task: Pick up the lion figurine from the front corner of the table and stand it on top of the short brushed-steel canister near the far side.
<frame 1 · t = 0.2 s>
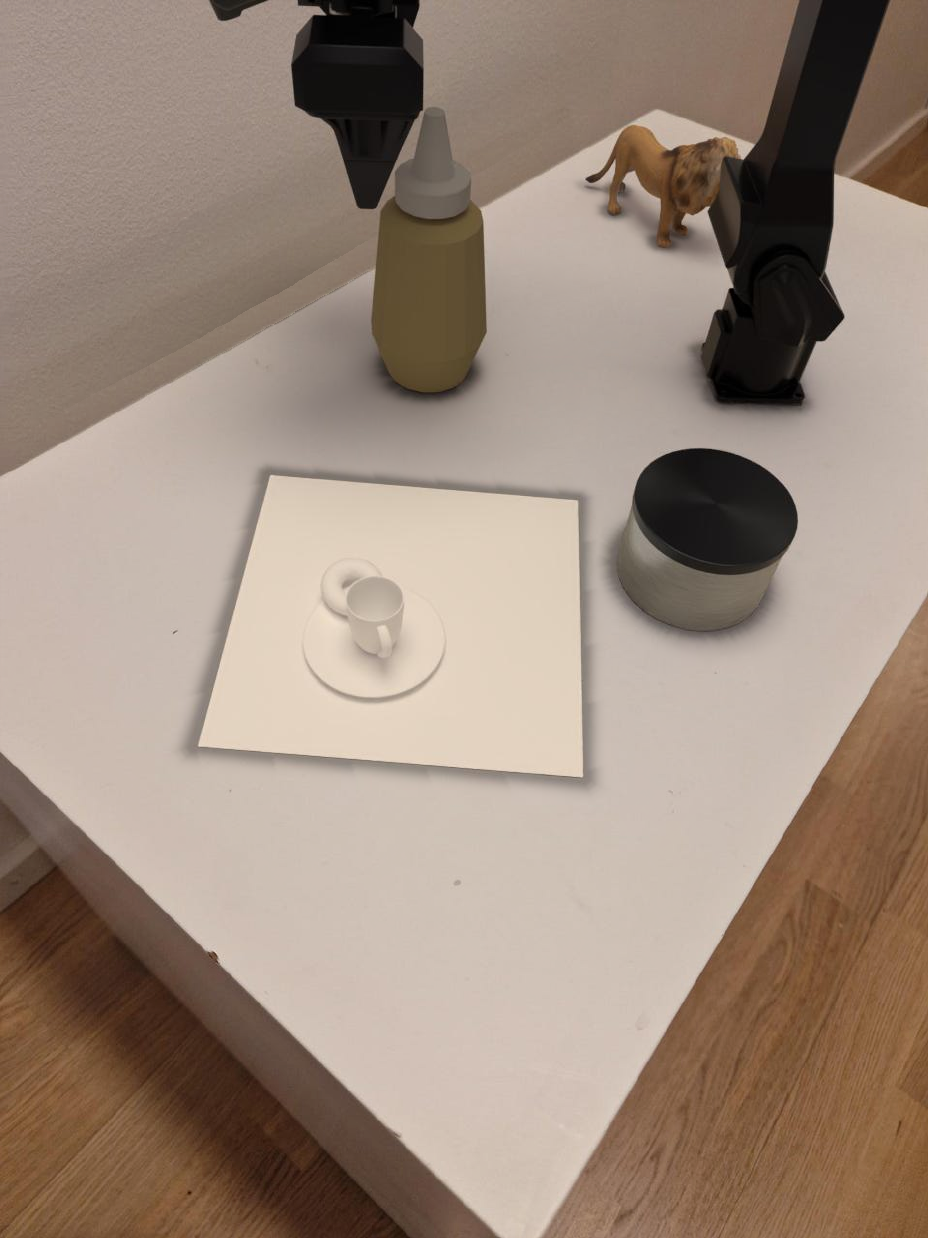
hand: (369, 166, 56), 14 cm above the table, tool pointing down, fingers open, 9 cm apart
lion figurine: (652, 223, 81), on the table
squeeze bottle: (427, 370, 68), on the table
steel canister: (689, 572, 57), on the table
teacup and saucer: (409, 611, 54), on the table
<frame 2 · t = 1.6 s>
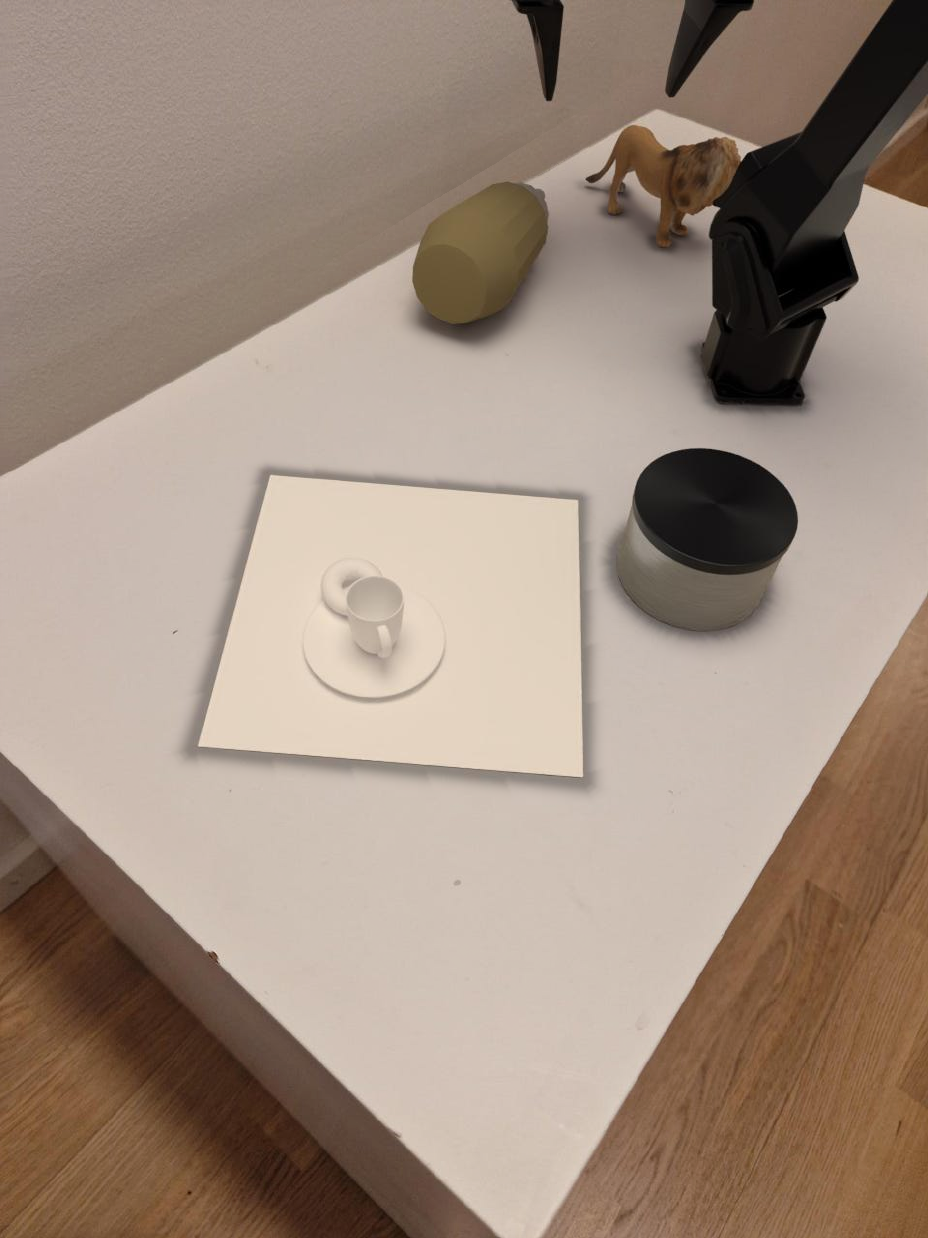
hand: (609, 96, 67), 13 cm above the table, tool pointing down, fingers open, 9 cm apart
squeeze bottle: (446, 287, 66), point 4 cm above the table
everything else where it was.
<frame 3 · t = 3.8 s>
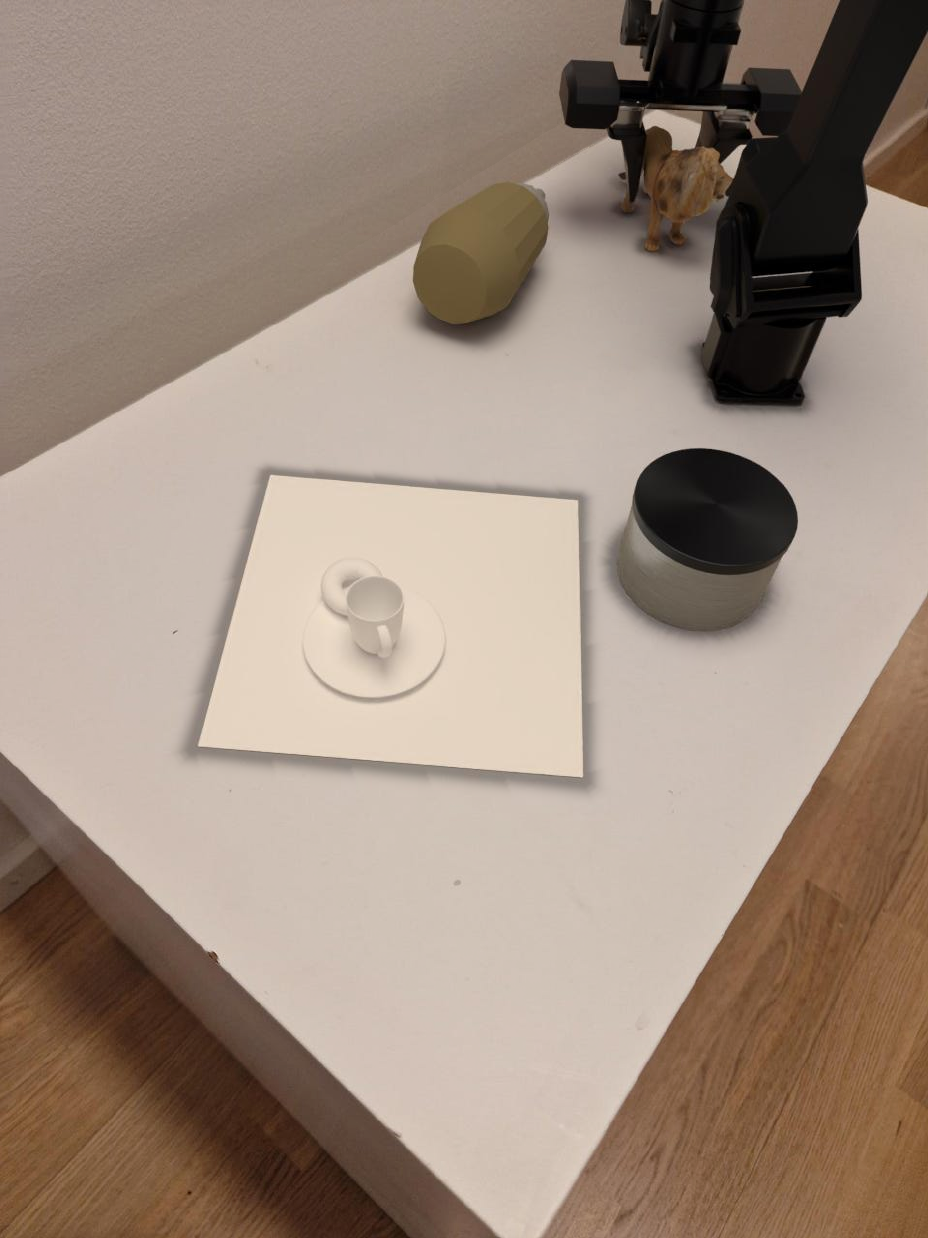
hand: (657, 201, 80), 2 cm above the table, tool pointing down, fingers closed on lion figurine, 4 cm apart
lion figurine: (658, 228, 81), on the table, touching gripper
everything else where it was.
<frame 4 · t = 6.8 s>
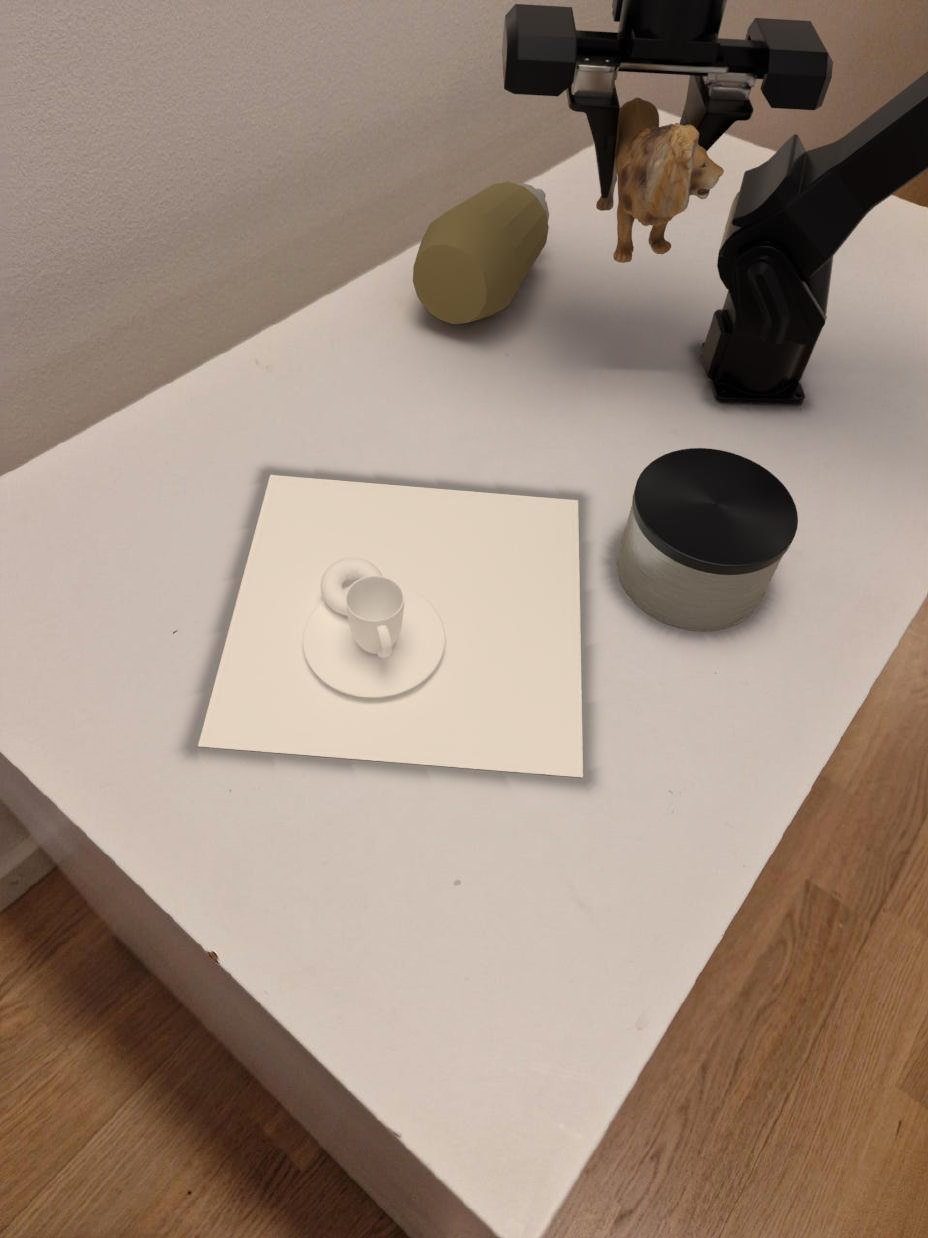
hand: (634, 196, 61), 11 cm above the table, tool pointing down, fingers closed on lion figurine, 4 cm apart
lion figurine: (641, 232, 62), point 10 cm above the table, touching gripper
everything else where it was.
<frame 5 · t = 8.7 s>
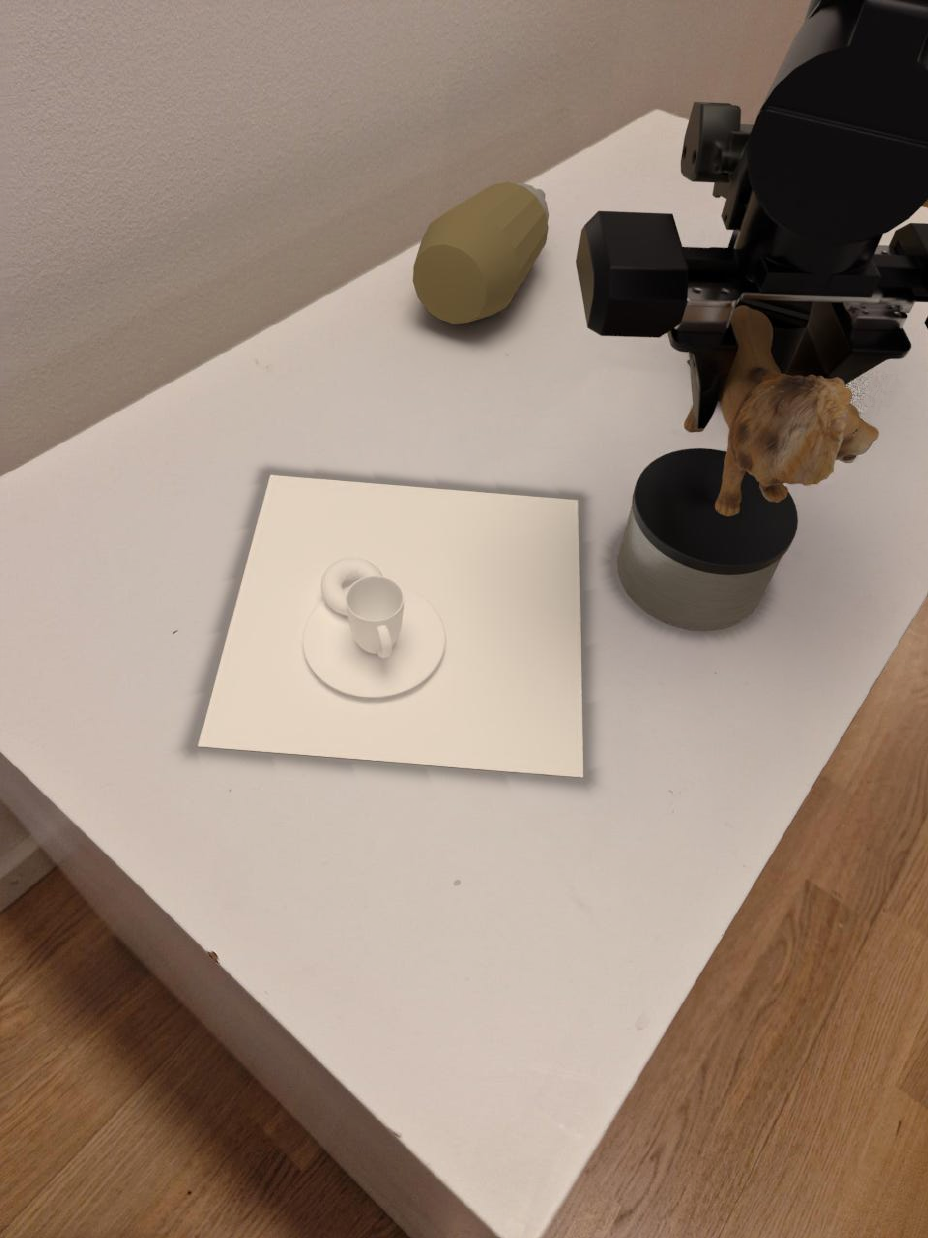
hand: (737, 423, 48), 11 cm above the table, tool pointing down, fingers closed on lion figurine, 4 cm apart
lion figurine: (744, 465, 49), point 10 cm above the table, touching gripper
everything else where it was.
when the fingers open (8 cm above the table, at t = 10.0 s): lion figurine stays where it is, resting on steel canister.
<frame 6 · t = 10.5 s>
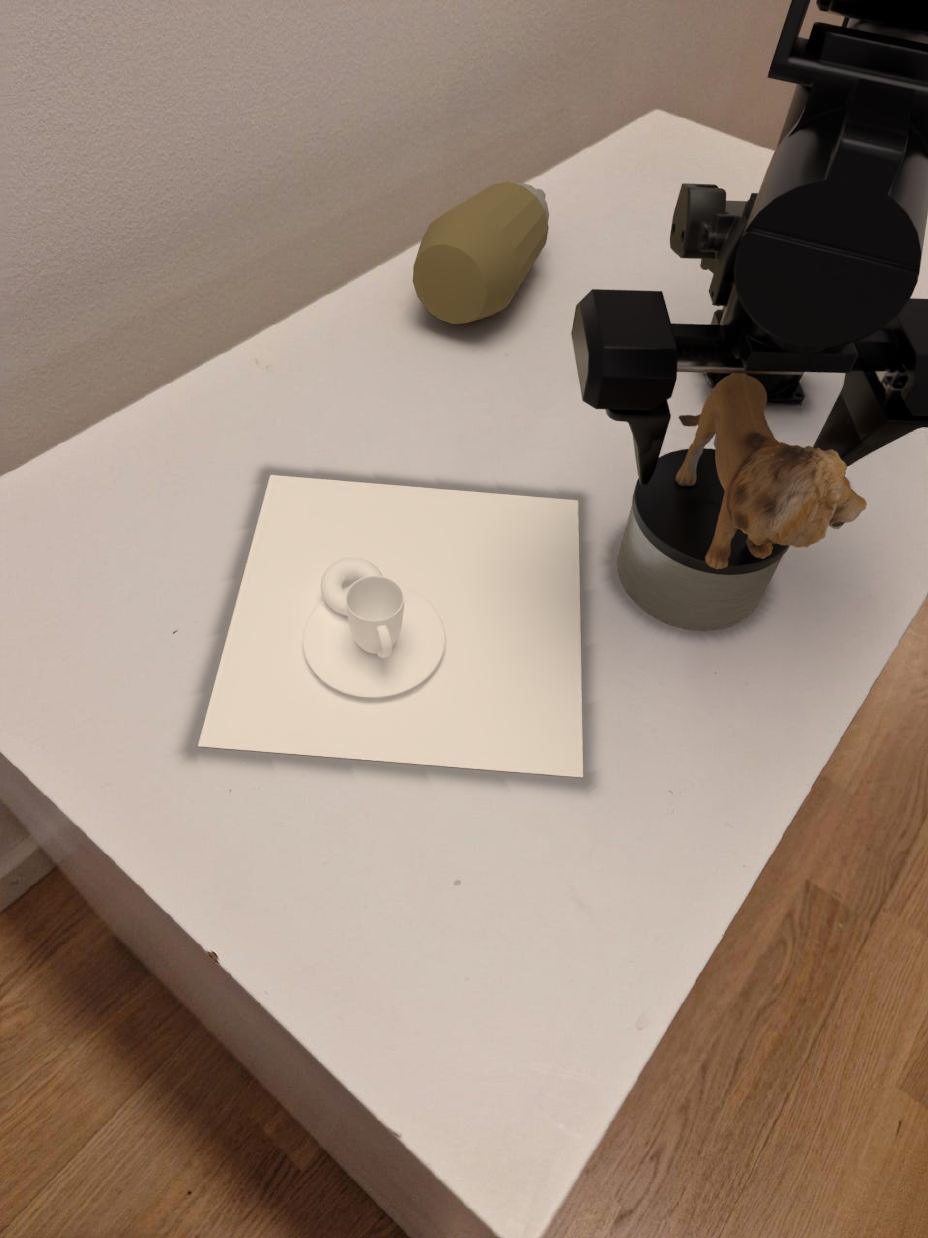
hand: (725, 480, 51), 8 cm above the table, tool pointing down, fingers open, 9 cm apart
lion figurine: (731, 520, 52), point 6 cm above the table, touching steel canister
everything else where it was.
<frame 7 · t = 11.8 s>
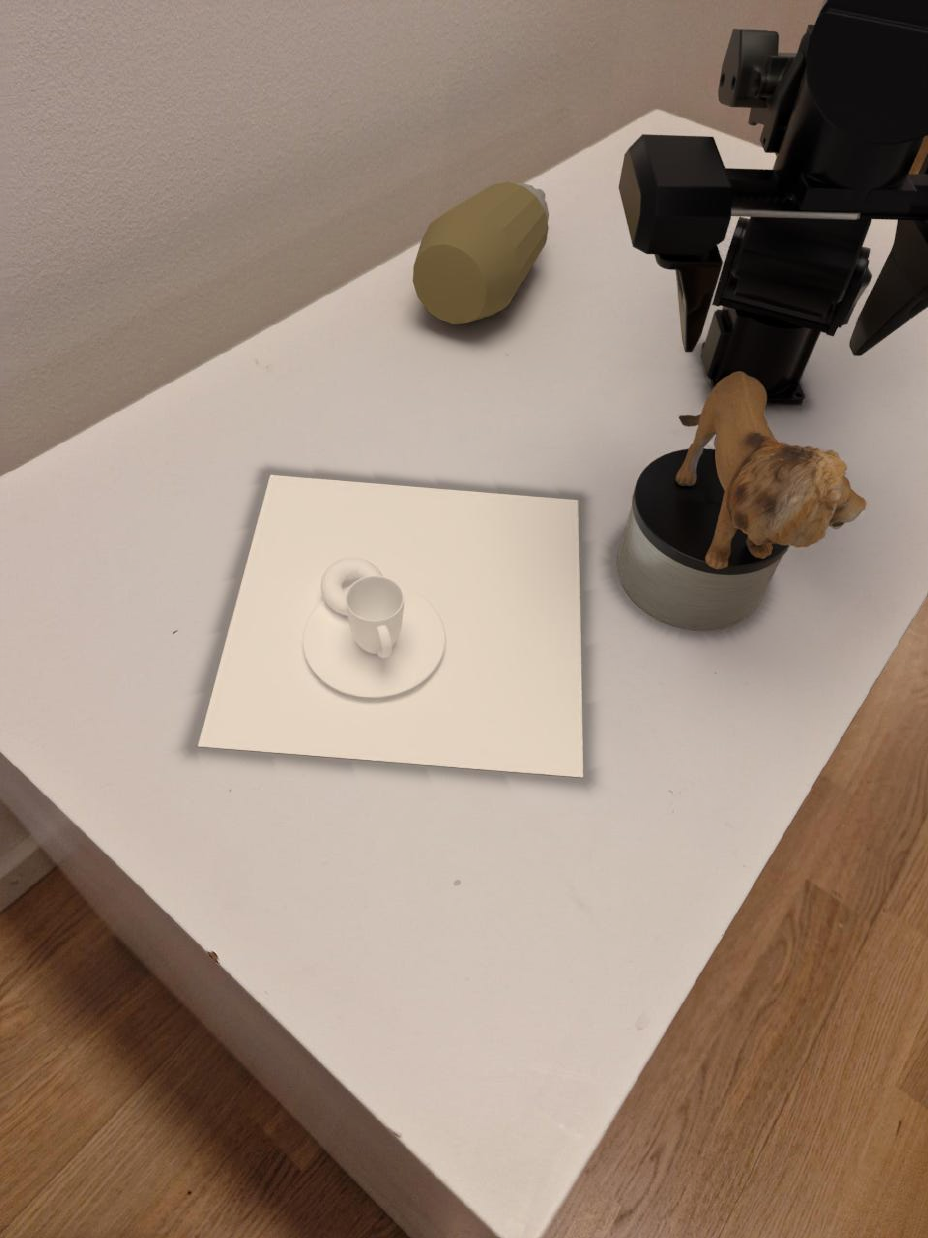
hand: (771, 349, 50), 13 cm above the table, tool pointing down, fingers open, 9 cm apart
nothing on the table moved.
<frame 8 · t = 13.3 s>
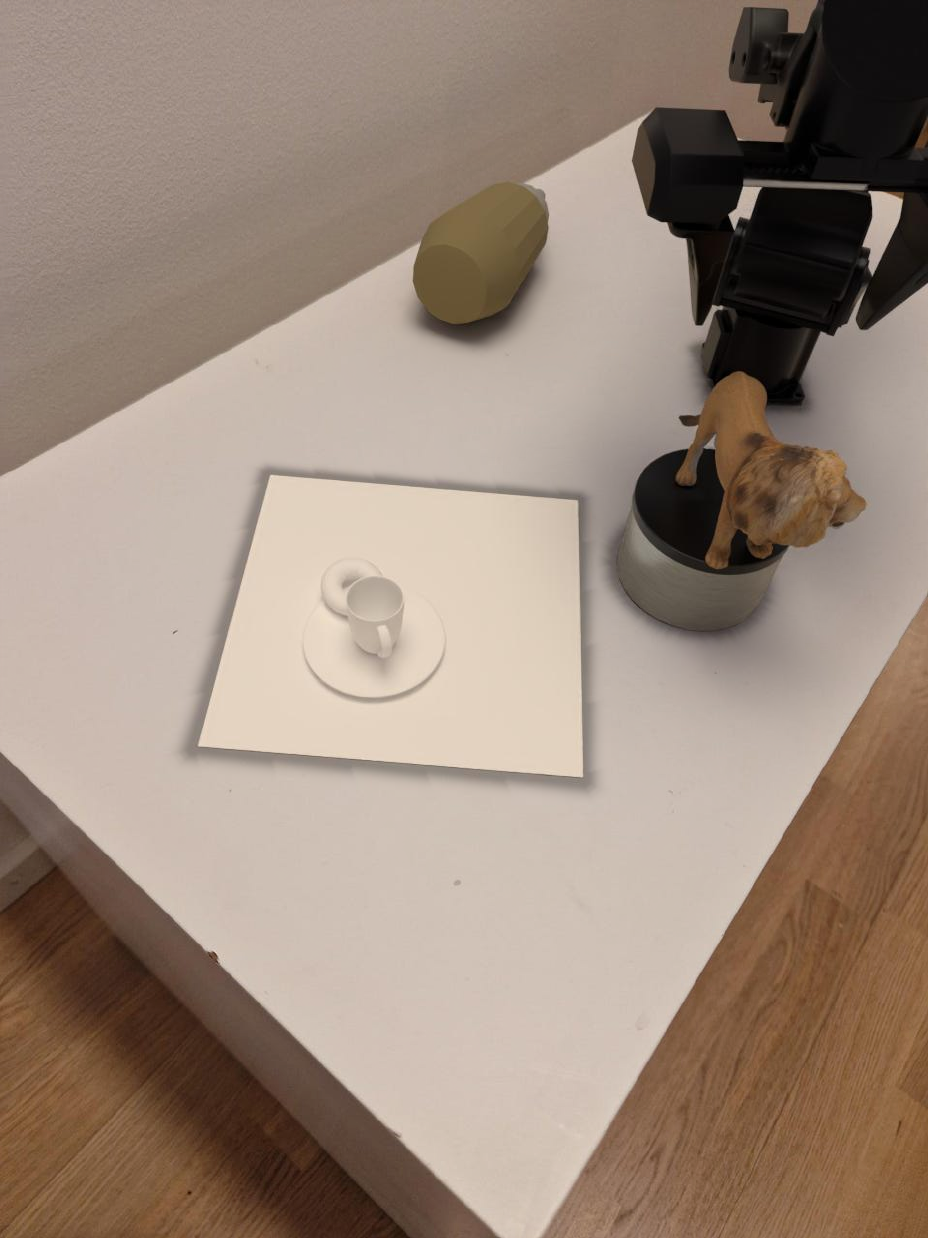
hand: (779, 323, 51), 13 cm above the table, tool pointing down, fingers open, 9 cm apart
nothing on the table moved.
at the end: lion figurine 1.3 cm off-centre on the steel canister, point 5.8 cm above the steel canister's base; lion figurine tilted 0°; the gripper is holding nothing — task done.
